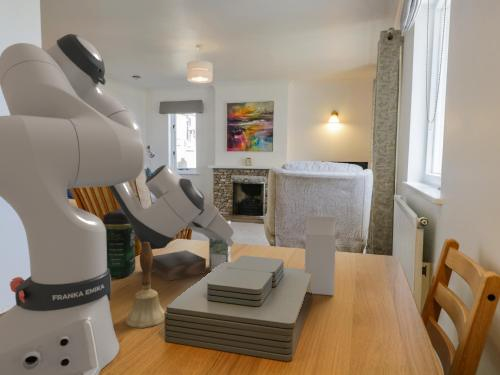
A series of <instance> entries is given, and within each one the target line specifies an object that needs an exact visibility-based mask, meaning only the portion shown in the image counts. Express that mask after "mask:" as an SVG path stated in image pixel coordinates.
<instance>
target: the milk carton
mask: <svg viewBox="0 0 500 375" xmlns="http://www.w3.org/2000/svg"><path fill="white" fill-rule="evenodd" d="M336 239H337V238H336V216H332V215H331V216H330V215H329V216H328V215H307V214H306V224H305V240H304V241H305V245H304V246H305V249H304V250H305V251H304V274H305V273H309V274H312V279H311V291H312V295H314V294H315V295H323V296H324V295H326V296H334V295H335V274H336V272H335V269H336V266H335V264H336Z"/></svg>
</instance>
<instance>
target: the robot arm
mask: <svg viewBox="0 0 500 375" xmlns="http://www.w3.org/2000/svg"><path fill="white" fill-rule="evenodd" d="M105 73H106V68H105V64H104V60H103V59H102V57H101V55H100V52H98V50H97V48H96V47H95V46H94V45H93V44H92V43H91V42H89V41H88V40H86V39H84V38H83V37H81V36H79V35H77V34H73V33H68V34H66V35H64V36H62V37H60V38H58V39H57V40H56V42H55V44H53V45H52V46H50V47H49V48H48V49H46V50H44V49H42V48H41V47H40V46H37V45H35V44H32V43H27V42H20V43H19V42H18V43H14V44H12V45H9V46H7V47H6V48H5V49H4V50H2V52H1V54H0V88H1V89H0V90H1V92H2V95H3V98H4V100H5V103H6V106H7V109H8V112H9V114H10V115H0V197H1V199H3V200H4V201H5V202H6V203H7V204H8V205H10V207H11V208H12V209H13V210H14V211H15V213H16V215H17V216H18V217H19V219H20V221H21V223H22V225H23V228H24V230H25V235H26V241H27V246H28V247H27V248H28V256H29V265H30V266H29V267H30V268H29V269H30V270H29V271H30V276H29V277H28V278H26V279H23V277H21V276H17V277H14V278H12V279H11V280H10V281H9V282H10V283H9V286H10V290H11V292H14V294H15V296H14V297H15V305H13V306H12V307H11V308H10V309H9V310H7V312H5V313H4V314H2V315H1V316H0V375H99V374H100V372H101V371H102V369H103V368H105V367H106V366H107V365H108V364H110V363H111V362H112V361H113V360H114V359H115V358H116V357H117V355H118V353H119V351H120V343H119V341H118V338H117V334H116V331H115V328H114V323H113V319H112V312H111V305H110V301H112V300H111V297H112V296H111V295H112V278H111V275H110V269H109V268H107V242H106V228H105V226H104V224H103V220H102V219H101V218H100V217H98V215H95V214H93V213H91V212H89V211H86V210H84V209H82V208H79V207H76V206H73V205H72V204H71V202H70V200H69V197H68V190H70V189H78V188H79V189H81V188H99V187H104V188H105V187H108V188H109V190H110V192H111V193H112V195H113V198H114V199H115V200H116V202H117V203H118V205H119V208H120V209H122V210H123V212H124V214H125V215H126V217H127V219H128V221H129V223H130V225H131V227H132V229H133V231H134V233H135V238H137V240H138V242H139V243H141V245H143V242H149V243H150V247H151V250H159V249H160V250H161V249H164V248H166V247H167V246H168V245H169V244H170V243H171V242H172V240H174V239H175V237H176V236H177V235H178V234H179V233H180V232H181V231H183V230H184V229H185V228H187V229H190V230H192V231H193V232H196V233H198V234H202V235H203V236H205V237H206V238H208V239H209V236H210V237H213V238H216V239H219V240H222V241H224V243H225V244H226V245H227V246H230V247H231V248H232V246H233V245H234V241H233V239H232V237H233V236H234V234H235V231H234V229H233V227H232V225H231V226H230V225H229V224H228V222H227V221H228V220H227V219H225V217H223V215H221V214H220V213H219V211H220V210H219V209H218V208H217V206H216V205H213V204H211V203H209V202H208V201H206V200H205V196H204V194H203V193H202V191H201V190H200V189H198V187H196V186H195V185H194V183H193V182H191V179H188V178H183V176H181V175H180V174H179V173H178V172H177V171H175V170H174V169H173V168H172V167H171V166H169V165H167V164H165V165H164V164H163V165H161V166H159V167H158V168H156V169H155V170H154V171H153V172H152V173H151V174H150V175H149V176H147V178H146V179H145V182H144V183H145V184H144V185H145V186H146V187H147V189H148V190H149V192H150V193H151V194H152V195H153V197H155V198H156V200H155V201H154V202H153V203H152V204H151V205H149V206H148V207H146V208H144V207H143V205H142V204H141V202H140V200H139V199H138V196H136V194H135V192H134V190H133V188H132V187H131V185H130V184H129V183H130V182H131V181H135V180H136V179H137V178H138V177H139V176H140V175H141V173H142V172H143V170H144V168H145V164H146V160H147V149H146V146H145V144H144V141H143V131H142V128H141V126H140V125H139V124H138V122H137V121H136V119H135V118H134V117H133V115H132V114H131V113H130V112H129V111H128V110H127V109H126V107H124V105H122V103H120V101H118V99H117V98H115V97H114V96H113V95H111V93H109V92H108V91H107V90H105V88H102V87H101V86H100V85H99V84H101V85H102V86H105V85H106V79H105Z"/></svg>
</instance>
